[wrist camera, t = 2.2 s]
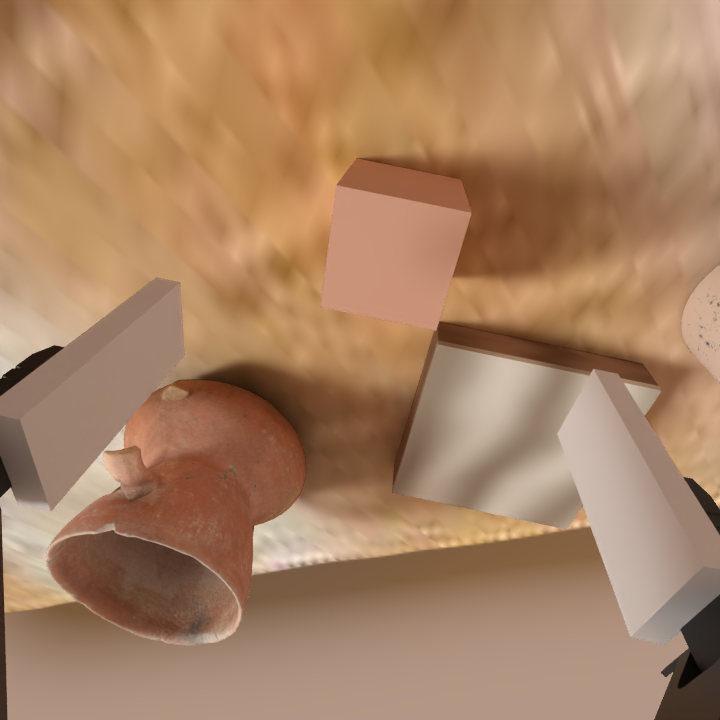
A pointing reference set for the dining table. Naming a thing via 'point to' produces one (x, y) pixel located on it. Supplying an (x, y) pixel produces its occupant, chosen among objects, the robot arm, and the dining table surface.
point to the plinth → (500, 424)
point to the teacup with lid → (704, 322)
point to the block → (394, 243)
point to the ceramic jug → (182, 513)
